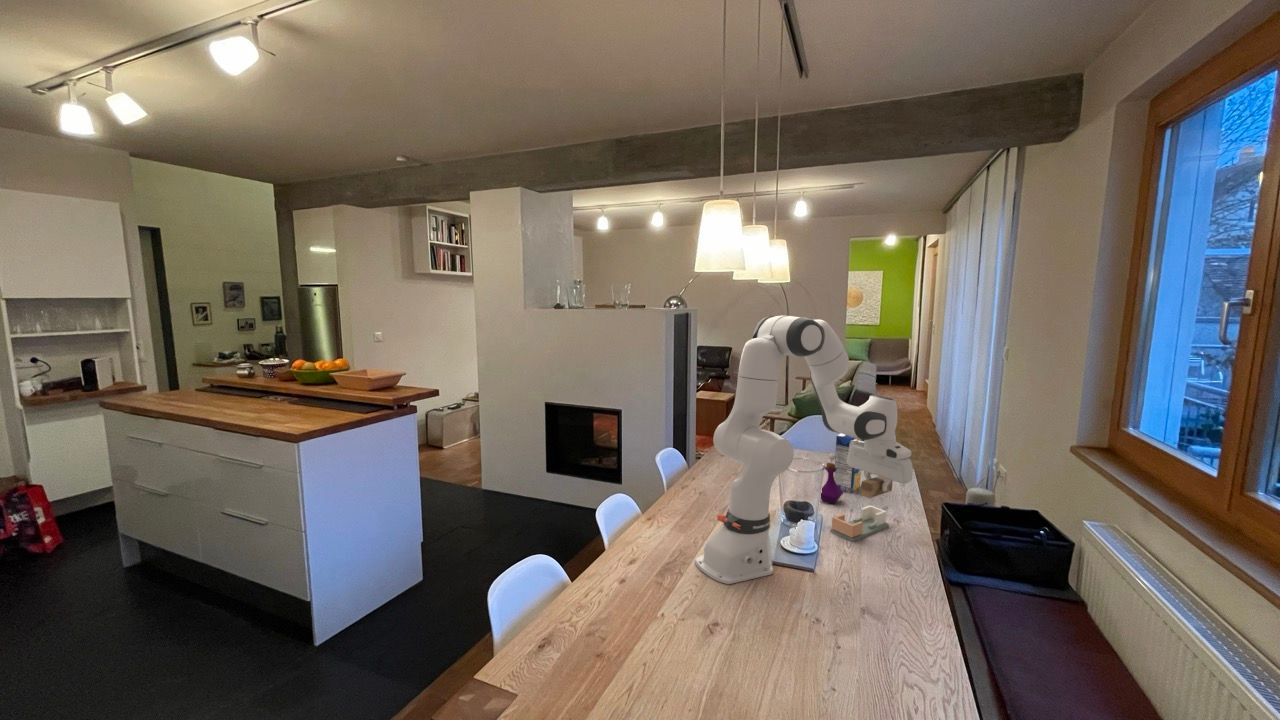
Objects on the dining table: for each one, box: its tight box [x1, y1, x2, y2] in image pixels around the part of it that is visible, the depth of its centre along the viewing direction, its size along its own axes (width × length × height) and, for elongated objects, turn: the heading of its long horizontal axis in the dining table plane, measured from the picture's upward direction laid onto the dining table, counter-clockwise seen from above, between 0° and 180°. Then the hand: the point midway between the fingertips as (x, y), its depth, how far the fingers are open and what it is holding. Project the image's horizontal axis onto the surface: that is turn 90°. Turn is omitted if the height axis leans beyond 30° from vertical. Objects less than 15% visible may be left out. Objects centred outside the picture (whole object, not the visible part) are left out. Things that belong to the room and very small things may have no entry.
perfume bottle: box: [820, 453, 844, 505], centre depth 183 cm, size 8×8×18 cm
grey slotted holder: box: [830, 504, 890, 543], centre depth 160 cm, size 20×8×5 cm, turn 123°
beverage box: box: [833, 433, 864, 494], centre depth 197 cm, size 7×11×22 cm, turn 138°
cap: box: [831, 513, 863, 537], centre depth 156 cm, size 6×7×4 cm
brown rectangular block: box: [860, 476, 894, 499], centre depth 156 cm, size 12×3×4 cm, turn 122°
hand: (876, 488), depth 156 cm, fingers closed on brown rectangular block, 3 cm apart
